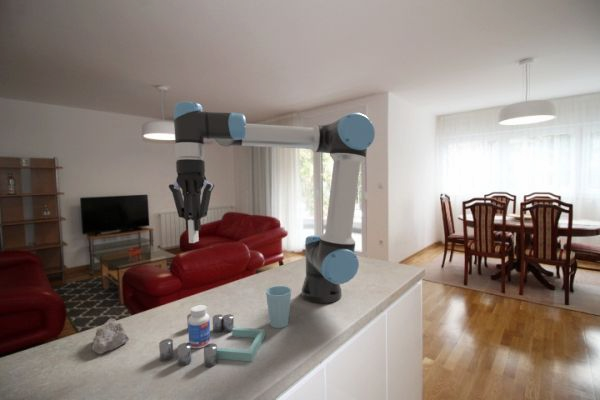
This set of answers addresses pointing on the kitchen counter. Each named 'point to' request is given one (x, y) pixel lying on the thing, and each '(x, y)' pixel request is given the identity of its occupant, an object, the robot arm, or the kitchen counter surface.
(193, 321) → the pill bottle
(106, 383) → the kitchen counter surface
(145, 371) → the kitchen counter surface
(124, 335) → the stone
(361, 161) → the robot arm
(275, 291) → the cup
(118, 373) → the kitchen counter surface
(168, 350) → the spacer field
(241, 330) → the teal bay
